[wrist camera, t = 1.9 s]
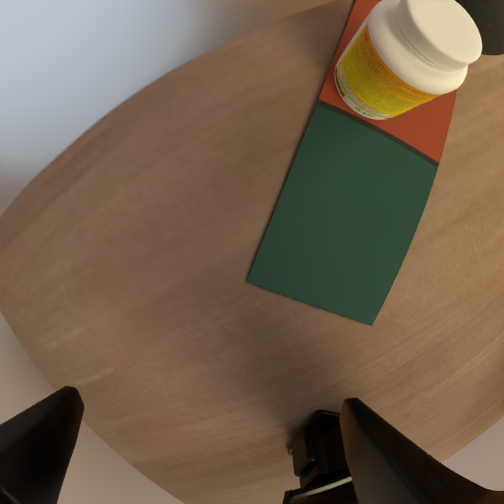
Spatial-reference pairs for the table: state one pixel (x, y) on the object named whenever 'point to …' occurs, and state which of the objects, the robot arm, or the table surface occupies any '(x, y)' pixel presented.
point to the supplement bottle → (406, 56)
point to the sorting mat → (351, 199)
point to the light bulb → (487, 23)
